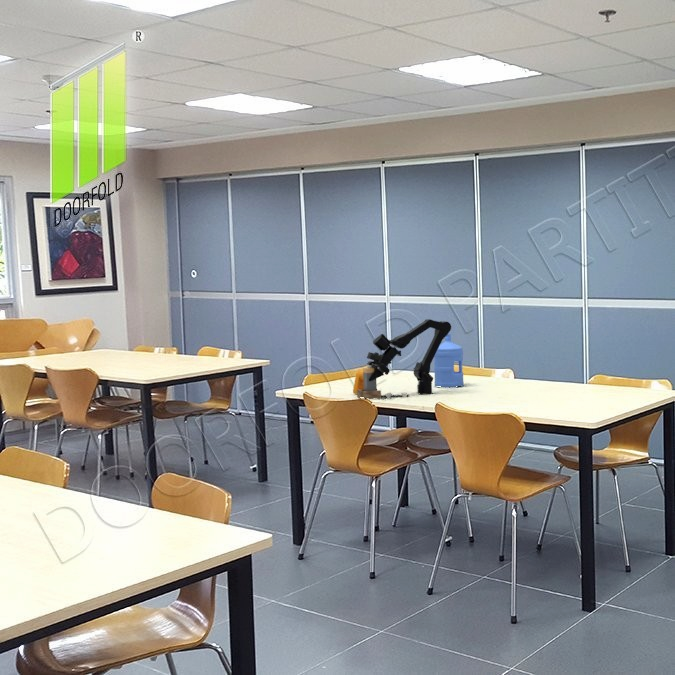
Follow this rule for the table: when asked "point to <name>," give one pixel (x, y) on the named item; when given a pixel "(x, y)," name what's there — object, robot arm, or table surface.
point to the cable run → (393, 395)
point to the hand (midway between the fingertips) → (367, 380)
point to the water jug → (448, 364)
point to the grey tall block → (366, 375)
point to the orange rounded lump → (358, 382)
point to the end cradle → (368, 394)
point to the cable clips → (391, 394)
